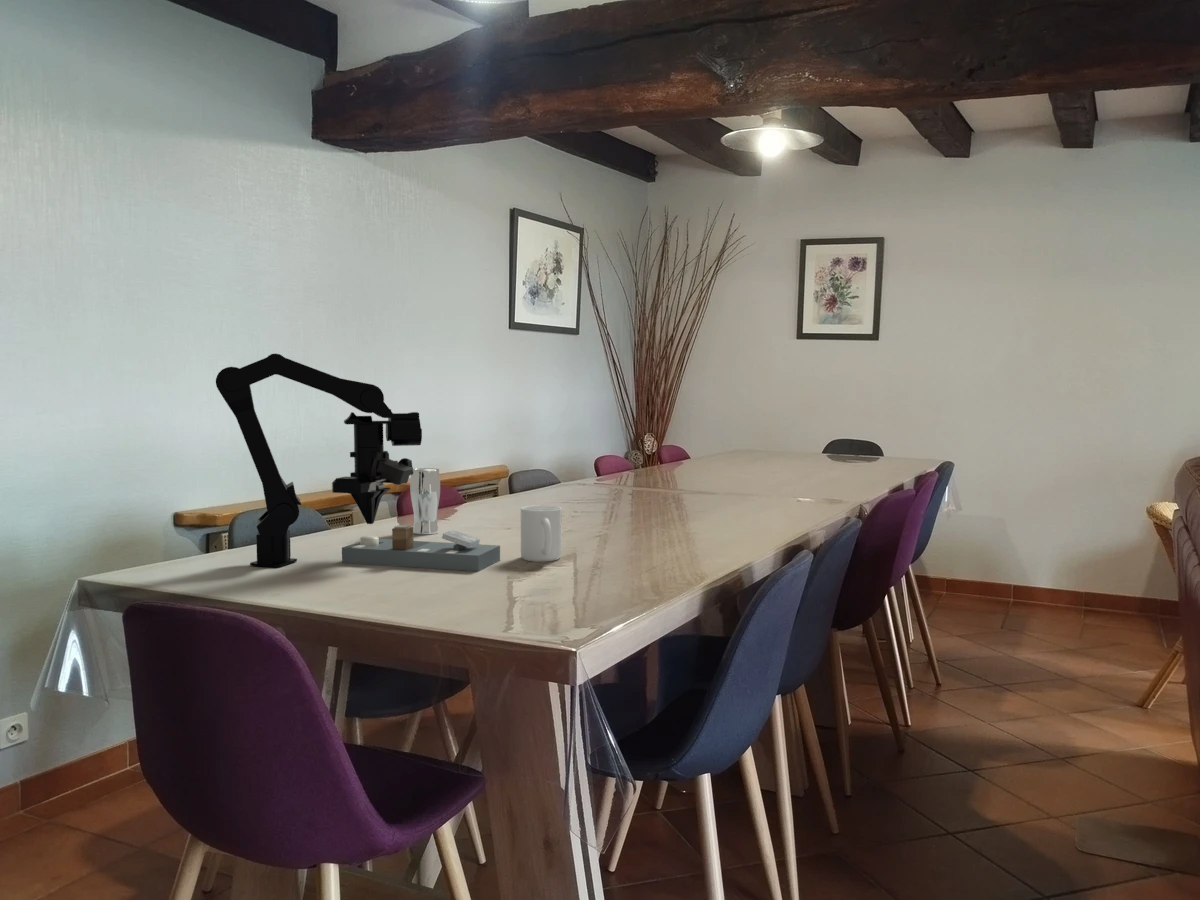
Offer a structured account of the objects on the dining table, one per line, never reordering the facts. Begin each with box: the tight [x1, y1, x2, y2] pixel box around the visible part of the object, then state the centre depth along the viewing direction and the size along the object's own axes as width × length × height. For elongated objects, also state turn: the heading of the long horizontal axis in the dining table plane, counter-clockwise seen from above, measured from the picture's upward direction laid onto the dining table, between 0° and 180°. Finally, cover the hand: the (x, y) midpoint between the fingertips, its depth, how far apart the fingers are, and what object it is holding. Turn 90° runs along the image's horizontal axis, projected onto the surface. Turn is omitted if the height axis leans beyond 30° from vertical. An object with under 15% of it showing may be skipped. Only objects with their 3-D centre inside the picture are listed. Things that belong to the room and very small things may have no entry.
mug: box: [520, 504, 563, 563], centre depth 185 cm, size 12×8×10 cm
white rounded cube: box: [359, 535, 380, 546], centre depth 186 cm, size 4×4×4 cm
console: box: [341, 538, 501, 572], centre depth 183 cm, size 11×29×4 cm, turn 75°
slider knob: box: [391, 524, 414, 550], centre depth 180 cm, size 3×3×4 cm
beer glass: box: [409, 467, 441, 536], centre depth 216 cm, size 7×7×15 cm
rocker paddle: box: [441, 529, 481, 548], centre depth 180 cm, size 5×6×1 cm
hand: (370, 523), depth 185 cm, fingers closed
